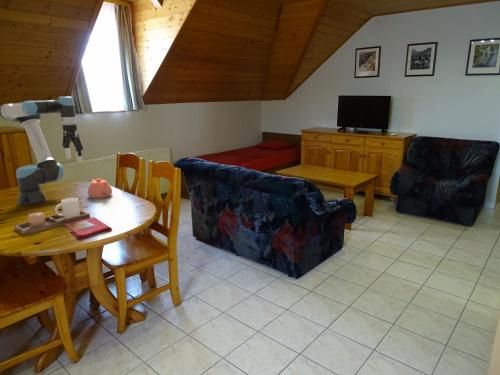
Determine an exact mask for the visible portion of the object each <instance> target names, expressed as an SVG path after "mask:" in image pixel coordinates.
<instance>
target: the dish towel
mask: <svg viewBox="0 0 500 375" xmlns="http://www.w3.org/2000/svg"><path fill="white" fill-rule="evenodd" d="M82 222H88V223H89V224H92V225H90V226H87V227H84V228H81V229H78V230H77V229H75V228H74V227H73V226H72V225H73V224H78V223H82ZM63 226H65V227H67V228H68V229H69V230H70V231H71V232H70V234H71V235H72V236H73V237H75V238H76V239H77V240H82V239H85V238H89V237H93V236H97V235H101V234H105V233H107V232H111V231H112V229H113V228H112V227H110V226H109V225H107V224H105V223H104V222H103V221H101V220H100V219H98V218H96V217H95V216H92V217H90V218H88V219H84V220H83V219H81V220H78V221H74V222H71V223H65V224H64V225H63Z"/></svg>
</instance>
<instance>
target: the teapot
mask: <svg viewBox="0 0 500 375" xmlns="http://www.w3.org/2000/svg"><path fill="white" fill-rule="evenodd" d="M112 193H113V188H112V186H111V185H110V183H109V182H108V181H107V180H105V179H102V178H100V177H99V178H96V179H94V178H93V179H91V182H90V183H89V186H88V188H87V195H88V197H90V199H97V200H98V199H103V198H104V199H105V198H109V197H110V196H111V195H112Z"/></svg>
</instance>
